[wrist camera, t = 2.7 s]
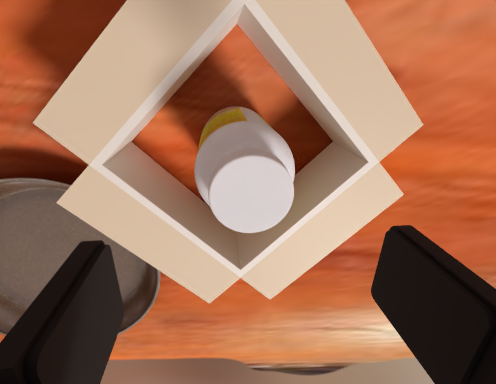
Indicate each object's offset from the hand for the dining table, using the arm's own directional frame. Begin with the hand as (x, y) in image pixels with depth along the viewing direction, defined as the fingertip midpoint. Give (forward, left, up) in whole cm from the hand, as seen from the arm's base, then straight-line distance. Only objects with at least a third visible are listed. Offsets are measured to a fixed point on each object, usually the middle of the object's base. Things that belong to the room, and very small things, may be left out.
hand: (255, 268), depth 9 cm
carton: (0, 0, -19) cm, 19 cm away
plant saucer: (+4, +22, -19) cm, 29 cm away
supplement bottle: (0, 0, -19) cm, 19 cm away
